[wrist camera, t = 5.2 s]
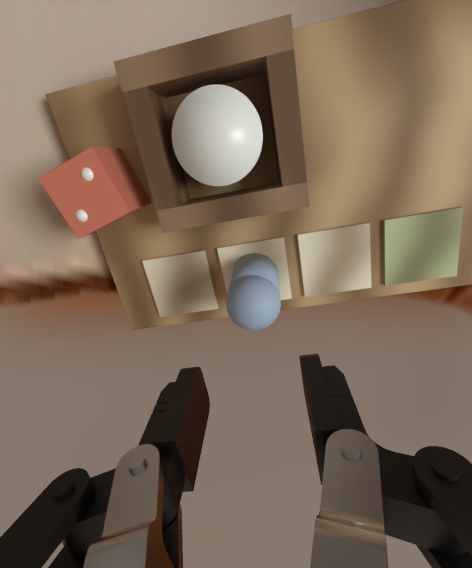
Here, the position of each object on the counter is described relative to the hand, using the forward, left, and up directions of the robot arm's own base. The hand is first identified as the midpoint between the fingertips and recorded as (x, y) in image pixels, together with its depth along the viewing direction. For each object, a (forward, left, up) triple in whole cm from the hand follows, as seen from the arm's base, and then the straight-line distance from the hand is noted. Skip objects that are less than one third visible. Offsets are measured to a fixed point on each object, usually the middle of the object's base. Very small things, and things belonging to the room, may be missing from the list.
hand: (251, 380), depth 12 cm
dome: (-1, +10, -11) cm, 15 cm away
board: (+2, +6, -13) cm, 15 cm away
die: (-9, +8, -12) cm, 17 cm away
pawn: (0, 0, -12) cm, 12 cm away
